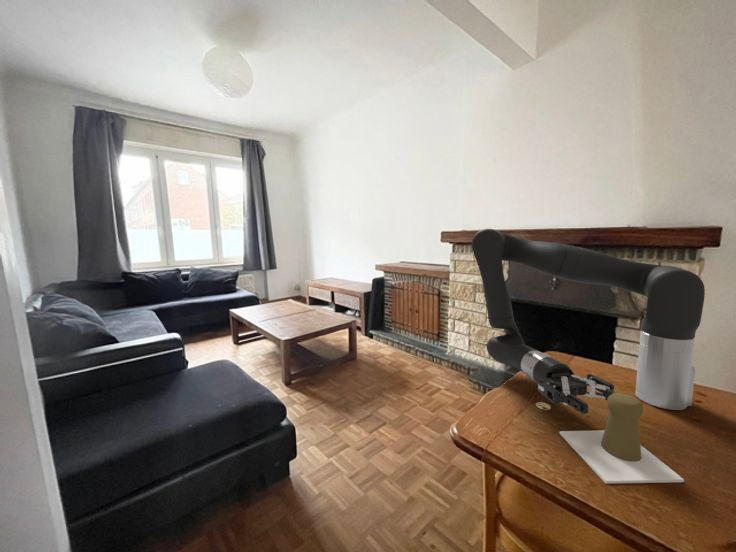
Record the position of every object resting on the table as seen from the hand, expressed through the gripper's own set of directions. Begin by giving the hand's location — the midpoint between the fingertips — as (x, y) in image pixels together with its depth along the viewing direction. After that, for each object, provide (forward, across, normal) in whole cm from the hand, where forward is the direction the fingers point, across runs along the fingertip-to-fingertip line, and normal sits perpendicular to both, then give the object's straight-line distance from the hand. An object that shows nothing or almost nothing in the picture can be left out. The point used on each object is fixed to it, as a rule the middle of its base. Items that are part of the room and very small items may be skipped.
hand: (605, 407), depth 59 cm
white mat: (+2, 0, +8) cm, 9 cm away
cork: (+2, +2, +8) cm, 9 cm away
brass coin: (-15, -1, +9) cm, 17 cm away
